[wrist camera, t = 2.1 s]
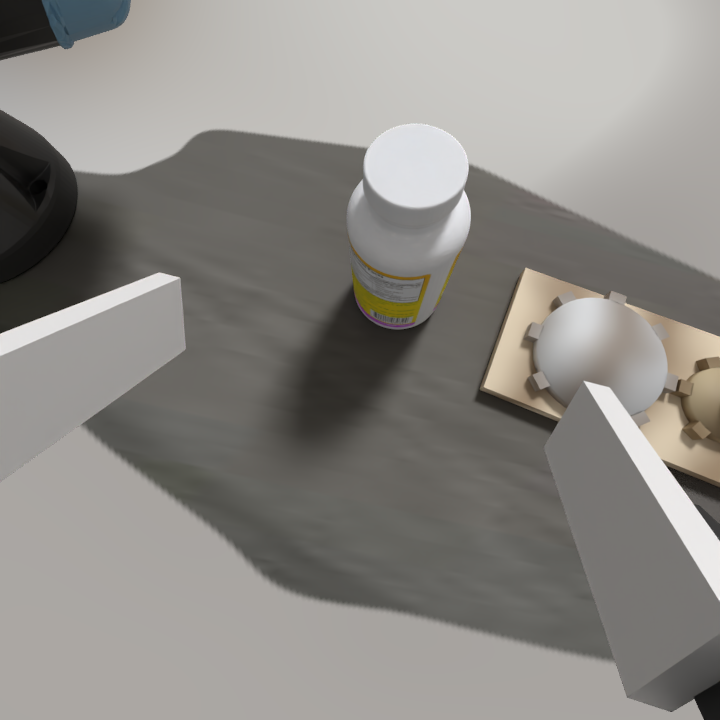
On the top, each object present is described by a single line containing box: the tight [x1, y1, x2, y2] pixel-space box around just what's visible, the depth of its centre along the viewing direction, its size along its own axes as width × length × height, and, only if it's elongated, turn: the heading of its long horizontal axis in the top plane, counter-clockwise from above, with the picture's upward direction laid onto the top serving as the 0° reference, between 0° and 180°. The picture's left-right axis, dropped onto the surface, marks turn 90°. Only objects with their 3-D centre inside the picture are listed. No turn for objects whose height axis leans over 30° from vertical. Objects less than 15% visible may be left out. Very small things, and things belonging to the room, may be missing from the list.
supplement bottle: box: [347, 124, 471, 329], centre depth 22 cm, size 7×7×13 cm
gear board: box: [479, 268, 720, 487], centre depth 24 cm, size 19×10×4 cm, turn 67°
